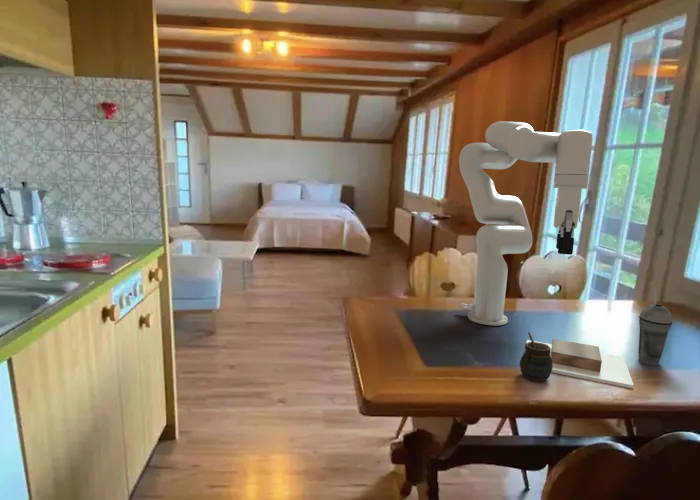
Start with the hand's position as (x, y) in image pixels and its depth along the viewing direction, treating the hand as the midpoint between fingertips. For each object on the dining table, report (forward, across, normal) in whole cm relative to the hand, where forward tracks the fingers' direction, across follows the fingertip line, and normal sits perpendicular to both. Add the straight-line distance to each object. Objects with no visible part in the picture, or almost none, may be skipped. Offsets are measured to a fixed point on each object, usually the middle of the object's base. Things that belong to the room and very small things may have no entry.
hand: (563, 251), depth 112 cm
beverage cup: (+29, -11, +23) cm, 39 cm away
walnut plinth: (+28, -1, +5) cm, 29 cm away
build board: (+29, -1, +5) cm, 29 cm away
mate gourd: (+29, +12, -5) cm, 32 cm away
